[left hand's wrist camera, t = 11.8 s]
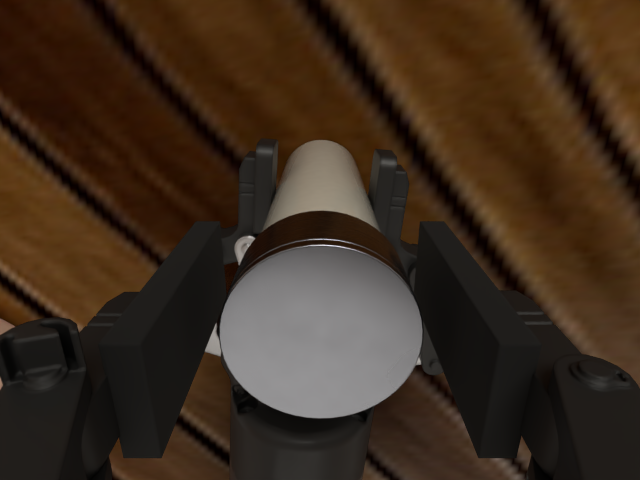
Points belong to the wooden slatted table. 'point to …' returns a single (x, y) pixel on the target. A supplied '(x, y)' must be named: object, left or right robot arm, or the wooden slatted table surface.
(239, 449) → the right robot arm
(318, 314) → the lid
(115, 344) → the left robot arm
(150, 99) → the wooden slatted table surface
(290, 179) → the beige cylinder
